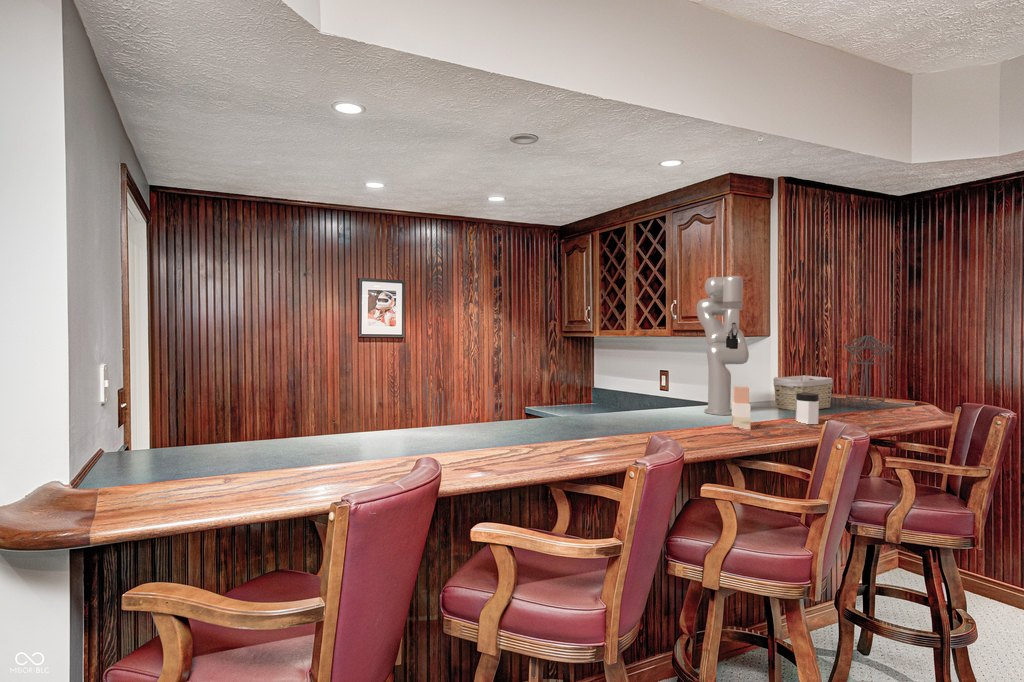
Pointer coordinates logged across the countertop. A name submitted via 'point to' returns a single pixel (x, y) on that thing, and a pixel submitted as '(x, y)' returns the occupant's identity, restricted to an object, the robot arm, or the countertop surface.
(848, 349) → the geometric lantern
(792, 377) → the storage basket
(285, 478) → the countertop surface
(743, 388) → the top block
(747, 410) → the middle block
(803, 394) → the jar
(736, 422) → the base block
